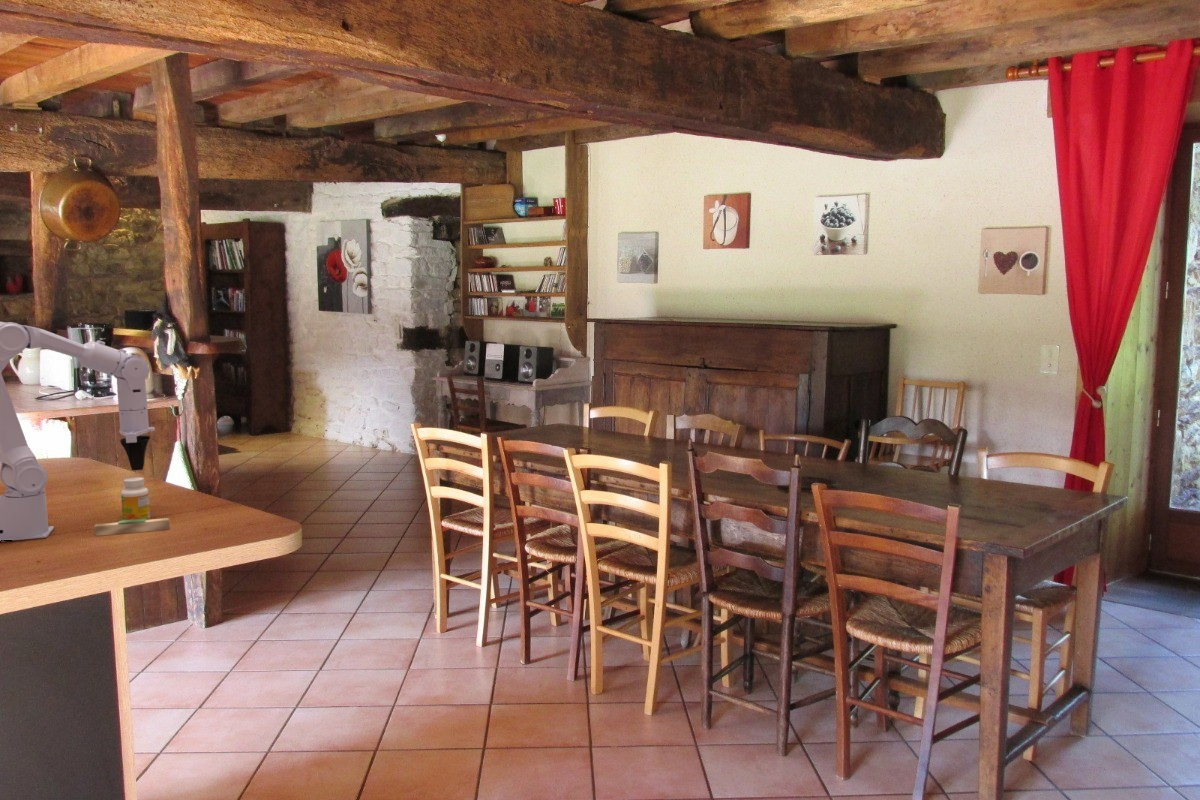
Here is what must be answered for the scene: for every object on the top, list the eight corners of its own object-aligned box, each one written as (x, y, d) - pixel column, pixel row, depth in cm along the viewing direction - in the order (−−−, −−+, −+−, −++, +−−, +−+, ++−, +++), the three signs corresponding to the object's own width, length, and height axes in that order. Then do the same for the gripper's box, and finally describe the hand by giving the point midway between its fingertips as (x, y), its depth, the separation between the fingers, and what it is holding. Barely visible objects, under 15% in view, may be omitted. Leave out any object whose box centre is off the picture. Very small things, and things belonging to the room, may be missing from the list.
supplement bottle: (117, 524, 210) (114, 480, 208) (139, 518, 214) (136, 475, 213) (134, 527, 207) (130, 482, 206) (156, 521, 212) (153, 477, 211)
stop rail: (94, 536, 200) (94, 525, 200) (96, 533, 202) (95, 522, 202) (168, 529, 205) (168, 518, 205) (169, 527, 207) (169, 516, 207)
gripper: (149, 412, 209) (154, 474, 211) (156, 403, 223) (160, 462, 224) (113, 414, 207) (118, 477, 209) (122, 405, 220) (126, 464, 222)
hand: (137, 469), depth 216 cm, fingers closed
